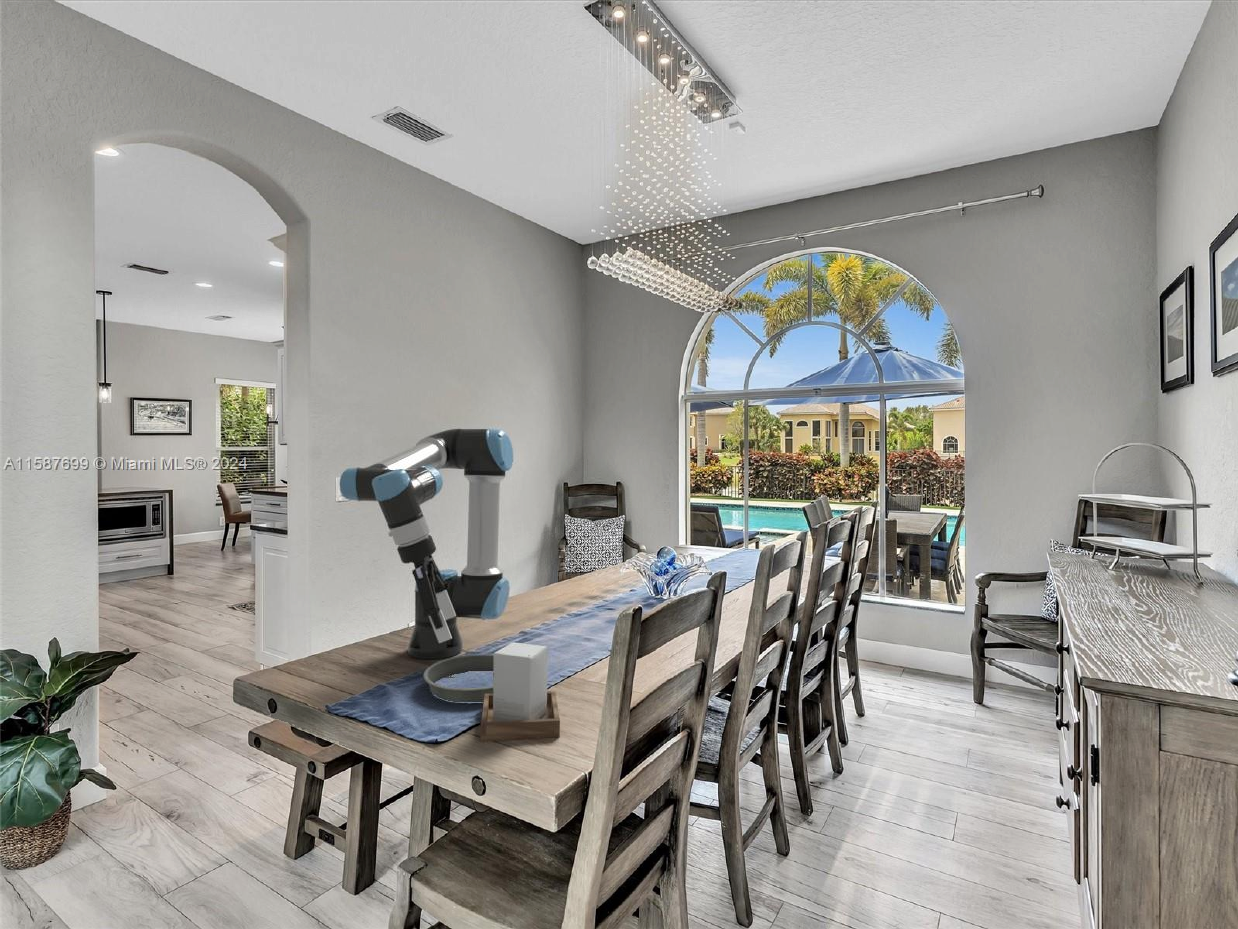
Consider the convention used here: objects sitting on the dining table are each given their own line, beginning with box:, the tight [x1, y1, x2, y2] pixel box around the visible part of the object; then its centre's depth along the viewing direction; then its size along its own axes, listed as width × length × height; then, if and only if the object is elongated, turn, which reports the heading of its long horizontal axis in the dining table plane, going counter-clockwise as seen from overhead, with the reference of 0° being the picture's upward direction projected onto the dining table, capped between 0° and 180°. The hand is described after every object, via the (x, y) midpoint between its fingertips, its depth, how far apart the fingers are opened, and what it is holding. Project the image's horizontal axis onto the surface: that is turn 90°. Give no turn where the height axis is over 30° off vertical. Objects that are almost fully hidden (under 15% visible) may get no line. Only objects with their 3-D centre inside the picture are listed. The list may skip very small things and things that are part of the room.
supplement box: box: [492, 641, 549, 722], centre depth 138 cm, size 9×9×15 cm
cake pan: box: [422, 653, 494, 702], centre depth 158 cm, size 25×25×4 cm
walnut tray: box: [480, 690, 561, 742], centre depth 138 cm, size 16×16×4 cm
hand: (448, 628), depth 140 cm, fingers open, 13 cm apart
